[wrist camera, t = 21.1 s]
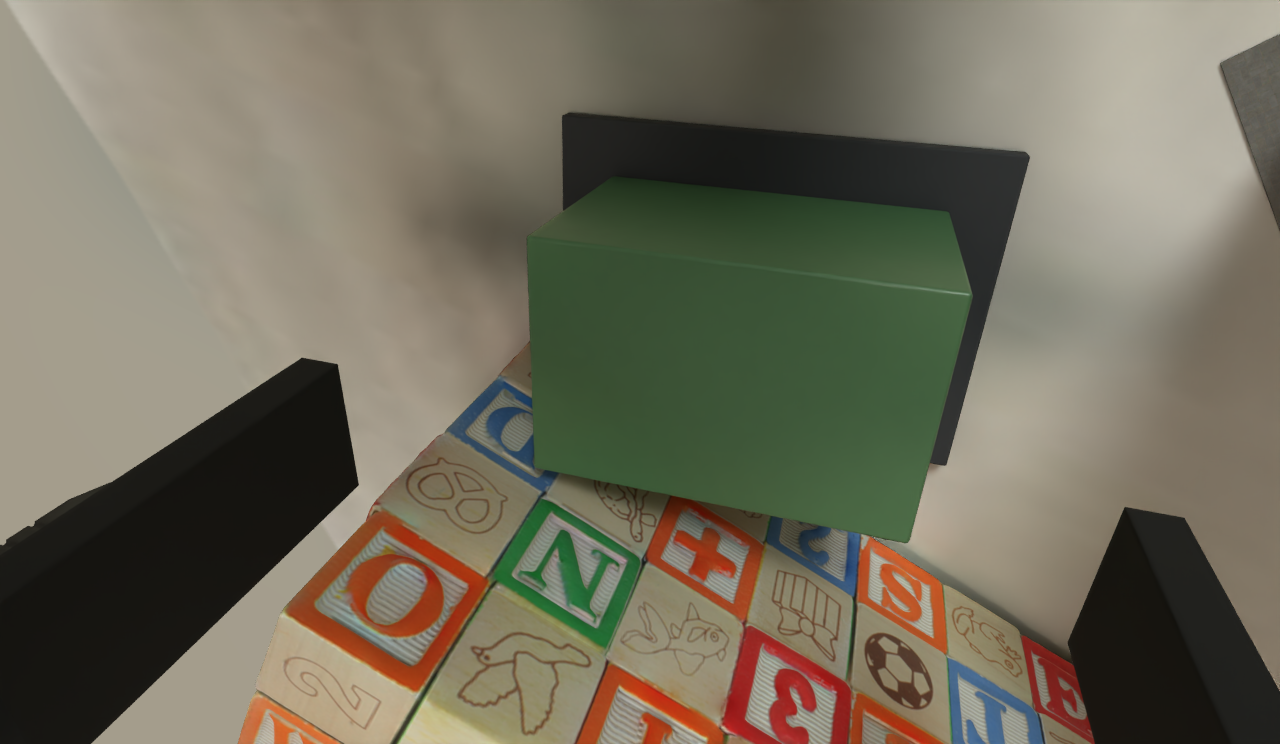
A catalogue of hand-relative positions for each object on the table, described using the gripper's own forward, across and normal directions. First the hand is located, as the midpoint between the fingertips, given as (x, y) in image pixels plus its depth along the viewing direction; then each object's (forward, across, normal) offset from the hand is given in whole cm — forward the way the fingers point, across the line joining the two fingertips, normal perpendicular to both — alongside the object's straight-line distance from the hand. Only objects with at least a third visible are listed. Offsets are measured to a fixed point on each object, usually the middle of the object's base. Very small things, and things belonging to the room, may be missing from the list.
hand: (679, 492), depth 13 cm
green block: (+10, 0, 0) cm, 10 cm away
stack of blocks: (+10, +1, -10) cm, 14 cm away
